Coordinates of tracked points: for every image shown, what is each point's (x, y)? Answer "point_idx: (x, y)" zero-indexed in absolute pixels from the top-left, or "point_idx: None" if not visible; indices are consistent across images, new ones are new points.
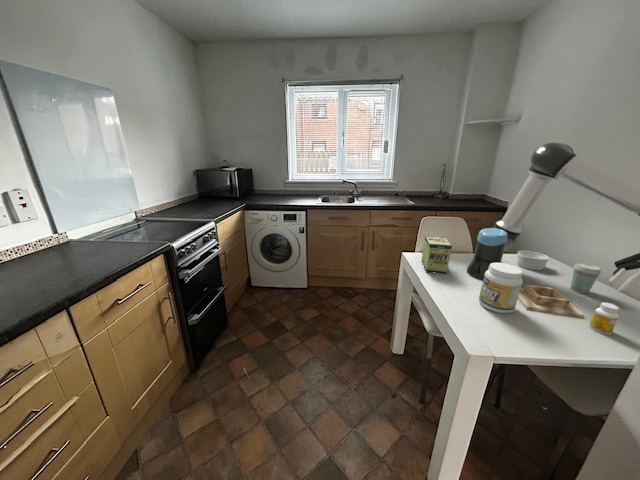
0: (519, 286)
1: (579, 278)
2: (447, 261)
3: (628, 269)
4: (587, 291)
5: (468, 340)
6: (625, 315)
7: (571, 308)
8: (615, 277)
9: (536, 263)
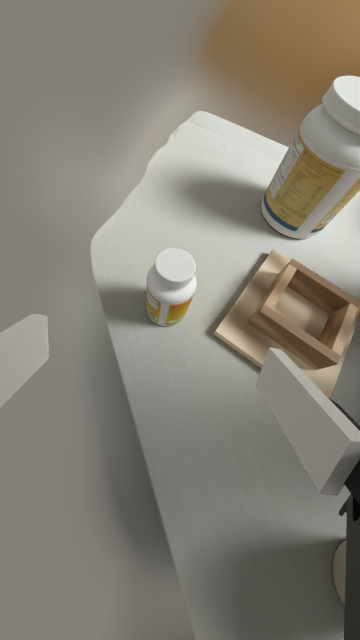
0: (301, 140)
1: None
2: None
3: (353, 521)
4: (341, 579)
5: (216, 120)
6: (180, 497)
7: (246, 336)
8: (285, 366)
9: None
